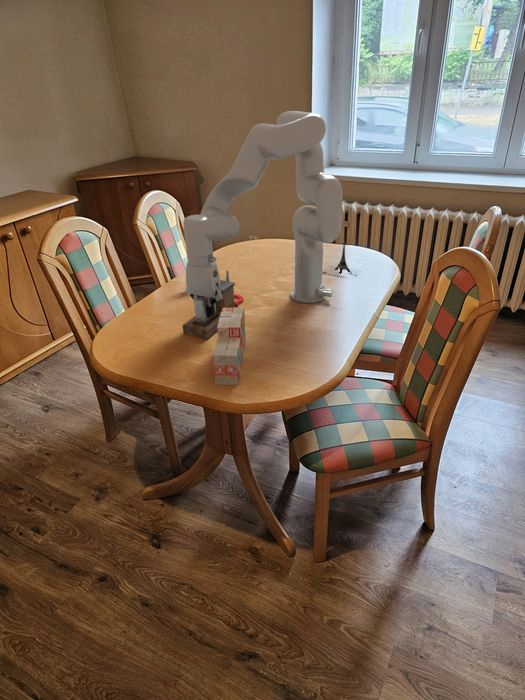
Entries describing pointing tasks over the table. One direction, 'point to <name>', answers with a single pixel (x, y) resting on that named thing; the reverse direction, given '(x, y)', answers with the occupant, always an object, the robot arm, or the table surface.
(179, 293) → the table surface
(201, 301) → the tall grey box
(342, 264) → the eiffel tower figurine
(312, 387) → the table surface
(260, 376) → the table surface
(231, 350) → the stack of blocks
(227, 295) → the post socket
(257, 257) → the table surface
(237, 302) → the tow hook
